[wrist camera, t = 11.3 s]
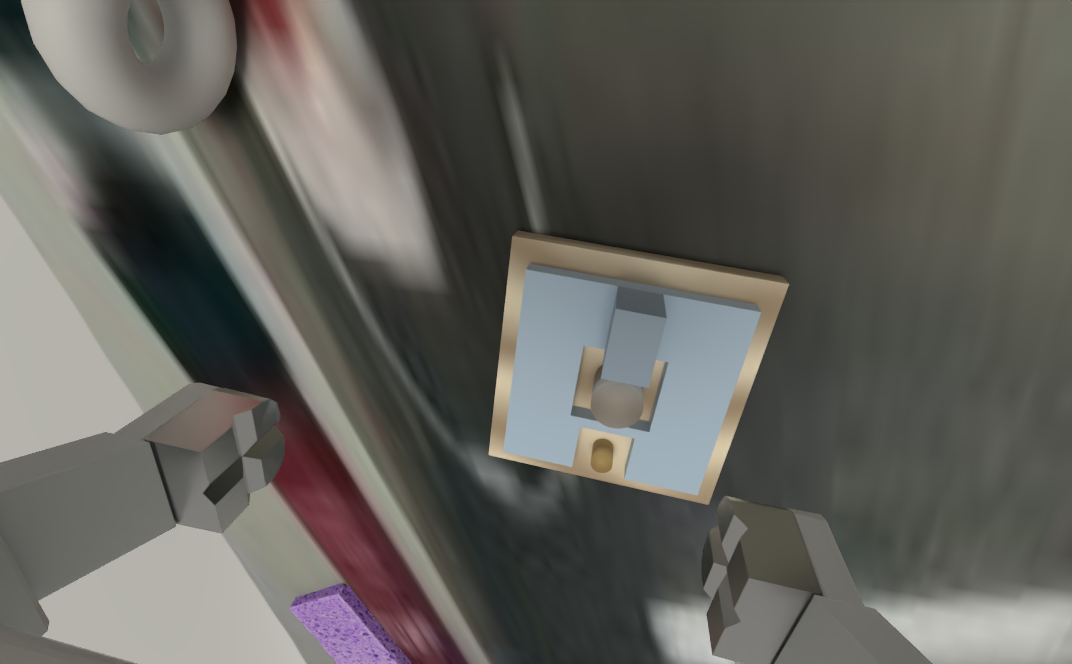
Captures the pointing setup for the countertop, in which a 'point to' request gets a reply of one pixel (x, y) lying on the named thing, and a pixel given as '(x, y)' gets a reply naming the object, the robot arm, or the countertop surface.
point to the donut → (120, 77)
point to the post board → (605, 398)
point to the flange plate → (679, 391)
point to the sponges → (346, 627)
